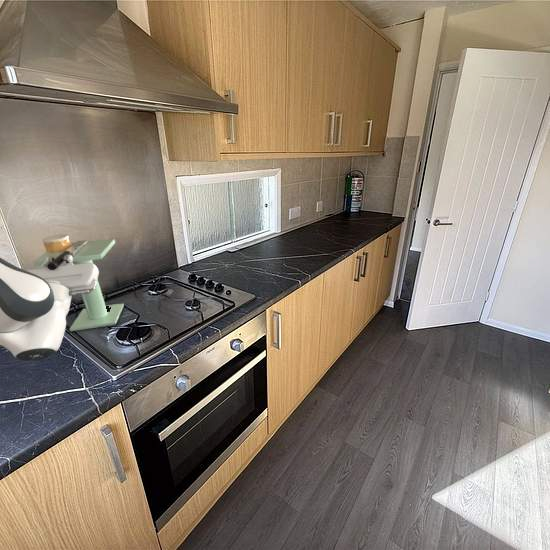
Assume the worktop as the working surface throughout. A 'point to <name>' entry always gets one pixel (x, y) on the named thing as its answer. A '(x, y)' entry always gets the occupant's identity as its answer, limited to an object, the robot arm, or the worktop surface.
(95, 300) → the cake stand
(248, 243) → the worktop surface
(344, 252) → the worktop surface
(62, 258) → the cake knife
